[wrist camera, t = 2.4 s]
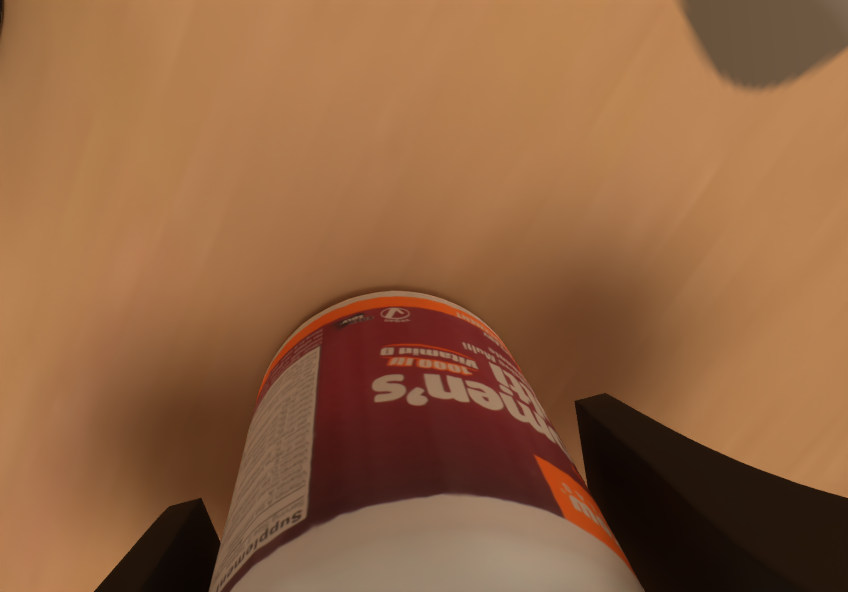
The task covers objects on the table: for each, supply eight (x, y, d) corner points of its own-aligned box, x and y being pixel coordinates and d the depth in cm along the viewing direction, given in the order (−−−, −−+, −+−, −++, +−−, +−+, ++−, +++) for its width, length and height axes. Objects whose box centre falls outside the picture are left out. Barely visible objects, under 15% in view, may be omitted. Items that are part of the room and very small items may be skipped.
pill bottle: (564, 345, 15) (1044, 965, 5) (443, 543, 17) (614, 1332, 7) (322, 238, 14) (271, 812, 3) (215, 466, 15) (-50, 1346, 5)
